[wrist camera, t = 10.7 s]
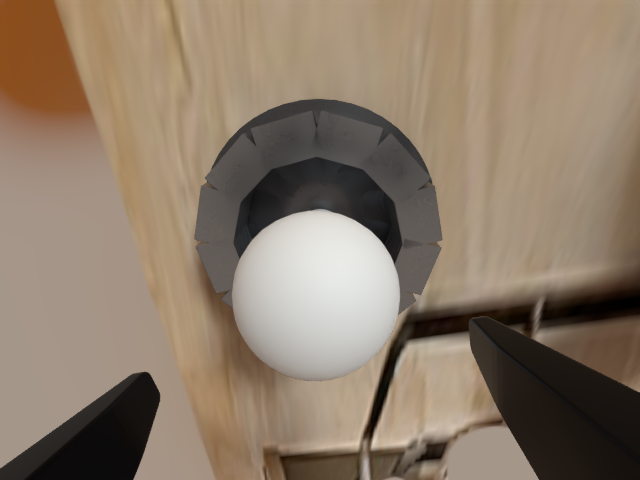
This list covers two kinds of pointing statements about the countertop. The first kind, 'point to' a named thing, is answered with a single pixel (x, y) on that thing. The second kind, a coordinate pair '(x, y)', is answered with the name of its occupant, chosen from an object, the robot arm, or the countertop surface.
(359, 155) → the socket
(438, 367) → the countertop surface
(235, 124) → the countertop surface
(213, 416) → the countertop surface
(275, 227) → the lightbulb
